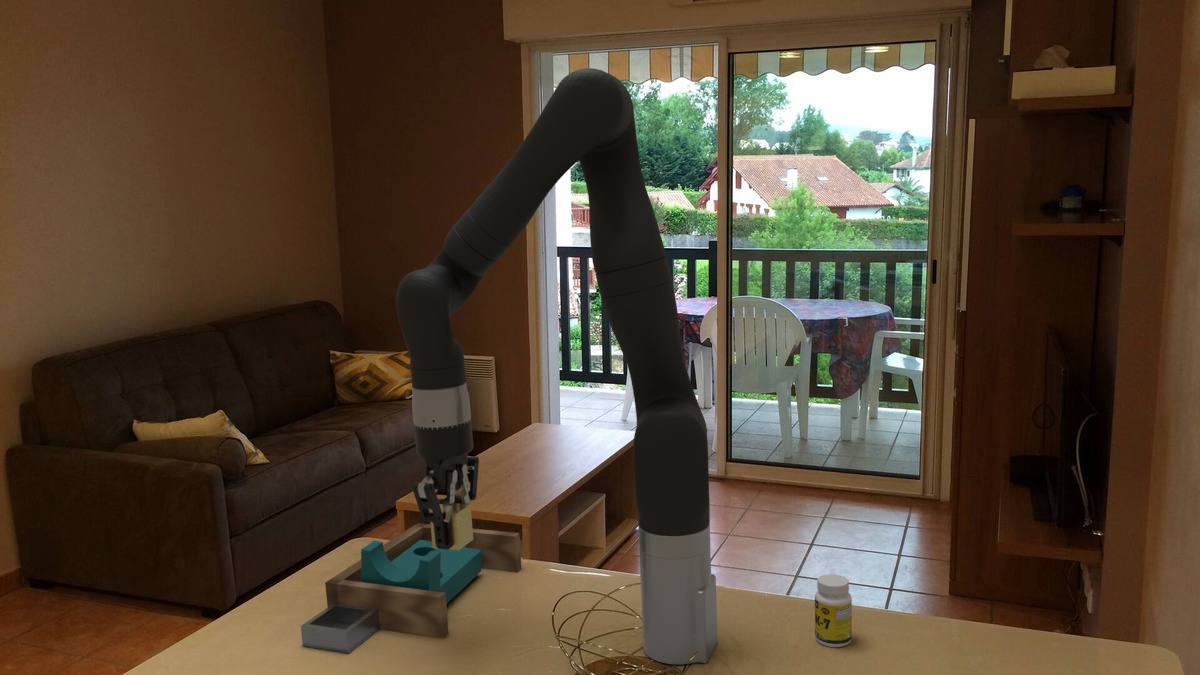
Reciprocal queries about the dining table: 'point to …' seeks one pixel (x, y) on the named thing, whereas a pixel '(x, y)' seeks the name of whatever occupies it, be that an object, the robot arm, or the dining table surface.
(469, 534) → the key block
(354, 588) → the bracket
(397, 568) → the teal l-shaped bracket
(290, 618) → the dining table surface
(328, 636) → the tray
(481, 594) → the dining table surface
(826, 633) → the supplement bottle
